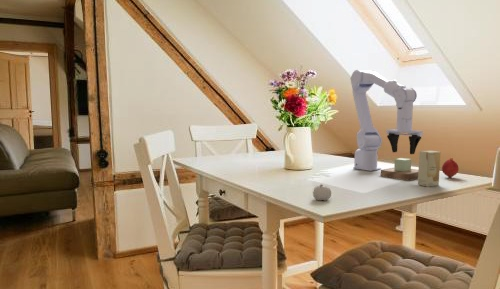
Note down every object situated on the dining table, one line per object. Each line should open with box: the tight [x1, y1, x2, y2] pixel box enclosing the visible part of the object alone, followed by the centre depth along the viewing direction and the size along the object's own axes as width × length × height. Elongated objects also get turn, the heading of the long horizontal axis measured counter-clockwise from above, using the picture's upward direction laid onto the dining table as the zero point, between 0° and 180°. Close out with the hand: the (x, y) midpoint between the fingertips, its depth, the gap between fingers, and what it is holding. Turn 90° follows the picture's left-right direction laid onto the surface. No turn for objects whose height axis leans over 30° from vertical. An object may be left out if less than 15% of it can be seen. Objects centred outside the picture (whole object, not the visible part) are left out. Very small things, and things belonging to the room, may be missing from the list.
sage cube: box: [393, 157, 412, 172], centre depth 157 cm, size 4×4×4 cm
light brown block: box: [380, 167, 419, 181], centre depth 158 cm, size 12×12×2 cm
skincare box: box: [417, 150, 442, 188], centre depth 140 cm, size 6×4×12 cm
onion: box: [441, 157, 460, 179], centre depth 154 cm, size 6×6×8 cm
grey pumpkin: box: [312, 183, 332, 201], centre depth 120 cm, size 6×5×5 cm
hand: (403, 153), depth 157 cm, fingers open, 7 cm apart
